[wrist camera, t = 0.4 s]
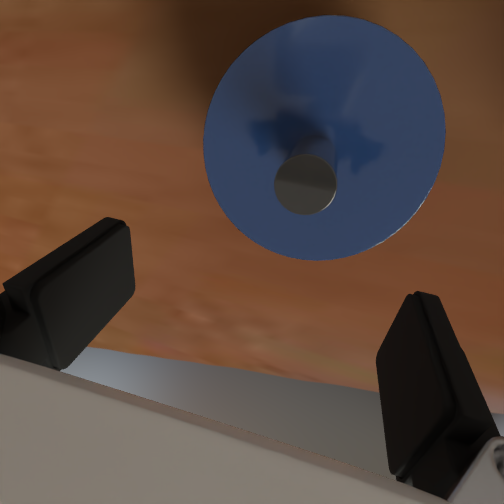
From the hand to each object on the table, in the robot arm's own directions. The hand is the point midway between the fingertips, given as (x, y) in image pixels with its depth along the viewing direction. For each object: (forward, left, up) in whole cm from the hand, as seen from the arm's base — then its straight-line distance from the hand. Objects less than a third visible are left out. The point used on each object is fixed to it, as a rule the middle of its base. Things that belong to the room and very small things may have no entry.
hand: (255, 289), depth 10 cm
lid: (-2, +1, -12) cm, 13 cm away
